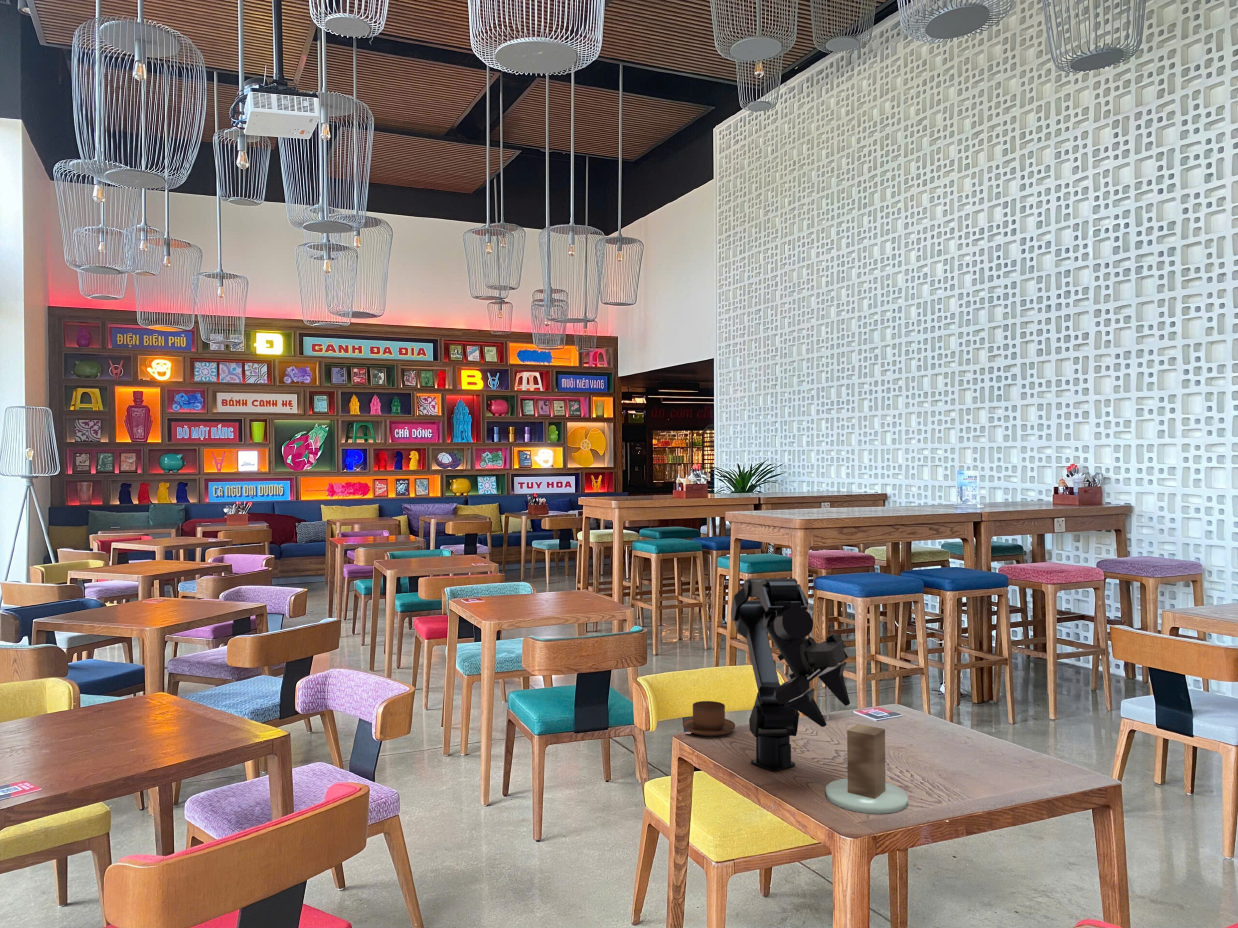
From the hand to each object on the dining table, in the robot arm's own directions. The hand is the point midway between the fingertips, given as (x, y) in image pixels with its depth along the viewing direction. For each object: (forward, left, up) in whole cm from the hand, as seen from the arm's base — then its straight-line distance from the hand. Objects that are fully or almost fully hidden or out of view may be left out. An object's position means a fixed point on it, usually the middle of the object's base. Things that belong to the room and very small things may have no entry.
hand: (836, 715), depth 155 cm
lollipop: (-30, +34, -13) cm, 47 cm away
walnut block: (+7, -1, -12) cm, 14 cm away
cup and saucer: (-40, +4, -13) cm, 42 cm away
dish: (+7, -1, -13) cm, 15 cm away
